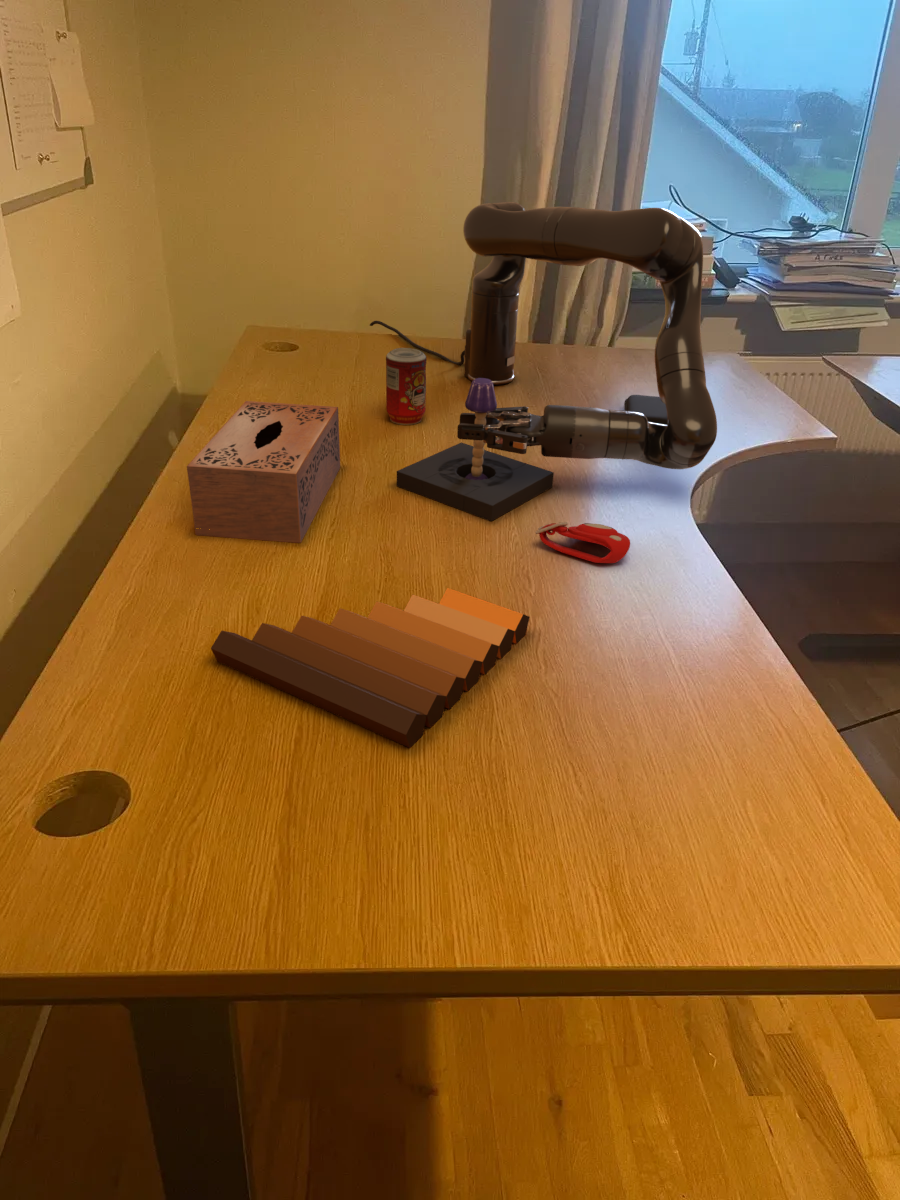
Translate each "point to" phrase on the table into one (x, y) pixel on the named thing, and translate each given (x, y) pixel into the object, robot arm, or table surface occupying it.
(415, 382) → the soda can
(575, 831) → the table surface
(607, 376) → the table surface
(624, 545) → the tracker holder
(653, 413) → the carrying case
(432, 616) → the brown ridged flat slab
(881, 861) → the table surface
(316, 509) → the tissue box cover
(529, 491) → the socket pad
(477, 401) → the toy lamp
